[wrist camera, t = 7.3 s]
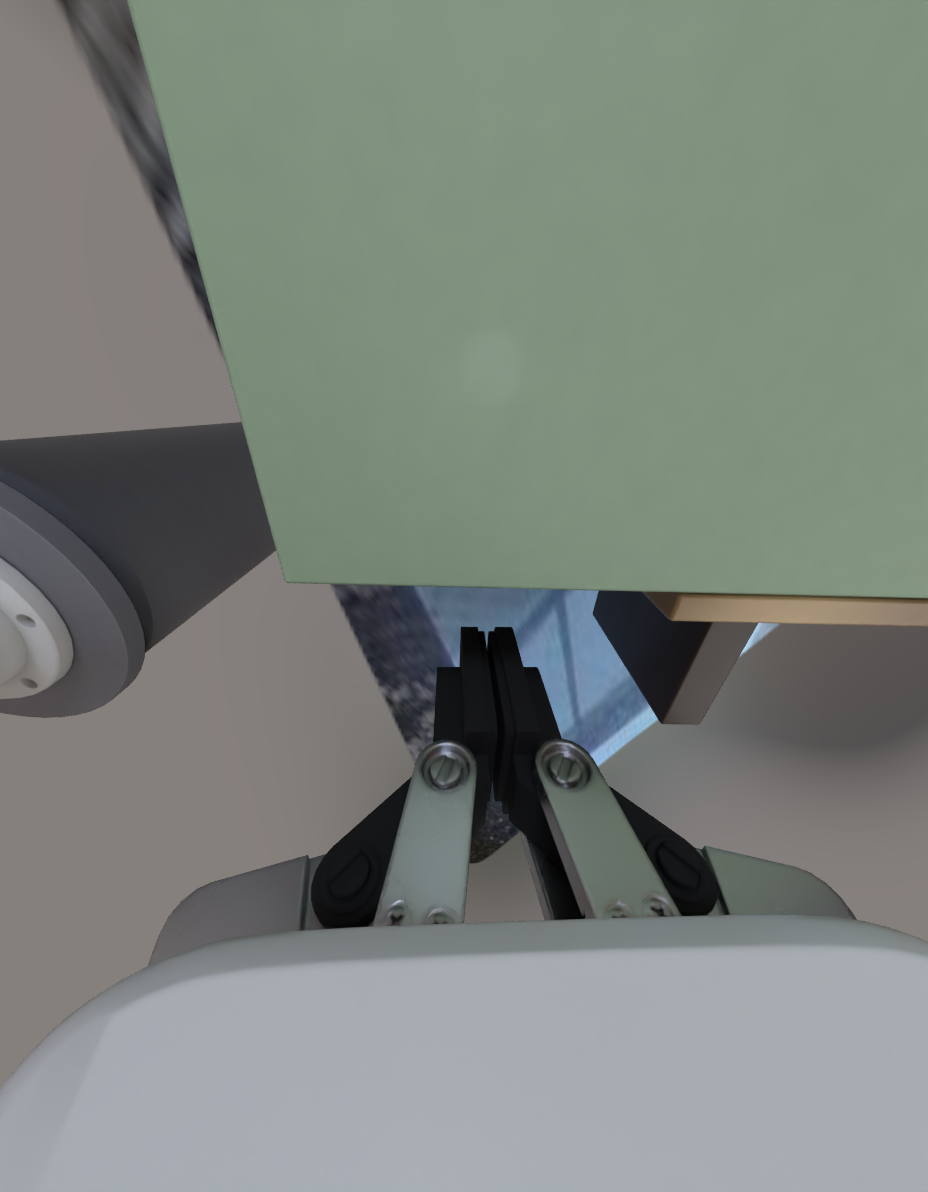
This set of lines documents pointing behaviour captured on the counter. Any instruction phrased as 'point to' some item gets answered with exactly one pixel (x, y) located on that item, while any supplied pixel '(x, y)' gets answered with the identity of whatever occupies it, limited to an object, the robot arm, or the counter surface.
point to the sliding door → (717, 636)
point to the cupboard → (567, 284)
